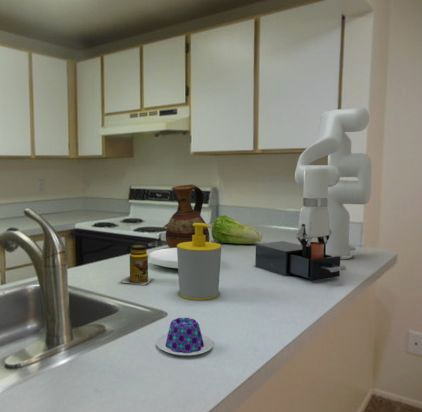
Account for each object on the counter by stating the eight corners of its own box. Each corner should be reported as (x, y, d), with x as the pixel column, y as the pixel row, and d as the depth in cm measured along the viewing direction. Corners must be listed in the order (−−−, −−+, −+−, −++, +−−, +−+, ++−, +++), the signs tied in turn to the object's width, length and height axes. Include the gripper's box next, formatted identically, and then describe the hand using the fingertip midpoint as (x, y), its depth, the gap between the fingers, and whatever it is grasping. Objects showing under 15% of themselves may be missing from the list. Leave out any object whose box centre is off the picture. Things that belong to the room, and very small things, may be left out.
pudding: (150, 337, 91) (150, 314, 90) (201, 331, 94) (201, 309, 93) (164, 362, 79) (164, 335, 79) (222, 355, 82) (222, 329, 82)
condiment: (145, 285, 131) (145, 248, 130) (120, 283, 134) (120, 247, 133) (152, 279, 138) (151, 244, 137) (128, 277, 141) (128, 243, 140)
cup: (313, 255, 142) (313, 240, 141) (327, 259, 136) (327, 243, 136) (300, 257, 139) (300, 242, 139) (314, 261, 134) (314, 245, 133)
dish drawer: (352, 280, 132) (353, 259, 131) (325, 285, 126) (325, 263, 126) (305, 267, 149) (306, 248, 148) (279, 271, 144) (280, 252, 143)
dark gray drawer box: (314, 271, 146) (314, 247, 146) (285, 276, 141) (286, 251, 140) (282, 262, 160) (283, 240, 160) (255, 266, 155) (255, 244, 154)
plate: (155, 245, 174) (219, 247, 168) (155, 260, 174) (219, 263, 168) (142, 251, 146) (217, 254, 141) (141, 269, 146) (217, 273, 141)
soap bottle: (210, 303, 113) (210, 227, 111) (169, 296, 120) (168, 224, 118) (227, 291, 124) (228, 222, 122) (188, 285, 131) (188, 219, 129)
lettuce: (262, 247, 204) (255, 256, 191) (215, 236, 214) (206, 243, 201) (267, 220, 200) (260, 227, 188) (219, 210, 211) (210, 216, 198)
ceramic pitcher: (156, 249, 188) (156, 184, 185) (186, 243, 202) (186, 183, 199) (188, 256, 174) (188, 185, 171) (218, 249, 187) (218, 184, 184)
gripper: (324, 201, 143) (323, 251, 145) (287, 203, 136) (286, 256, 138) (343, 202, 136) (341, 255, 138) (304, 205, 129) (303, 261, 131)
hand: (313, 255), depth 138 cm, fingers closed on cup, 6 cm apart
